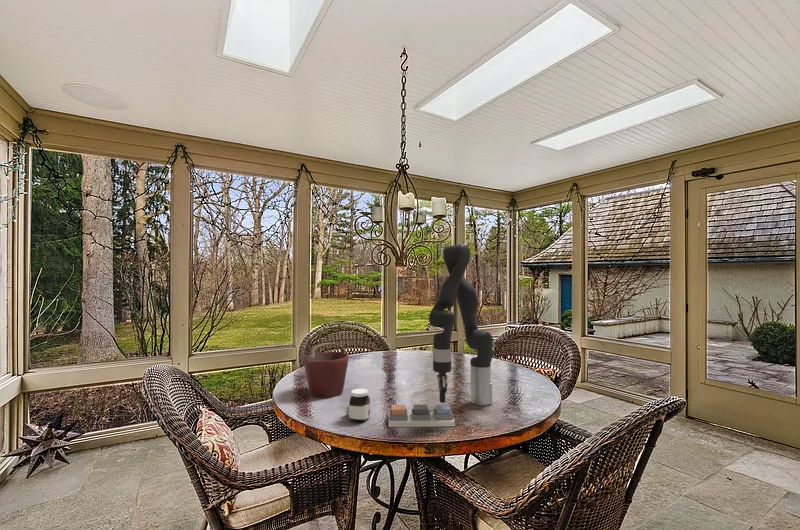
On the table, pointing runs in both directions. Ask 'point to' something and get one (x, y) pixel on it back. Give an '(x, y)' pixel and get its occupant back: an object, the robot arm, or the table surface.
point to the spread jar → (358, 406)
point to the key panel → (420, 420)
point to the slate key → (442, 409)
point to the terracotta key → (398, 410)
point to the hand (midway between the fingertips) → (442, 402)
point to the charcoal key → (420, 409)
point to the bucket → (326, 371)
